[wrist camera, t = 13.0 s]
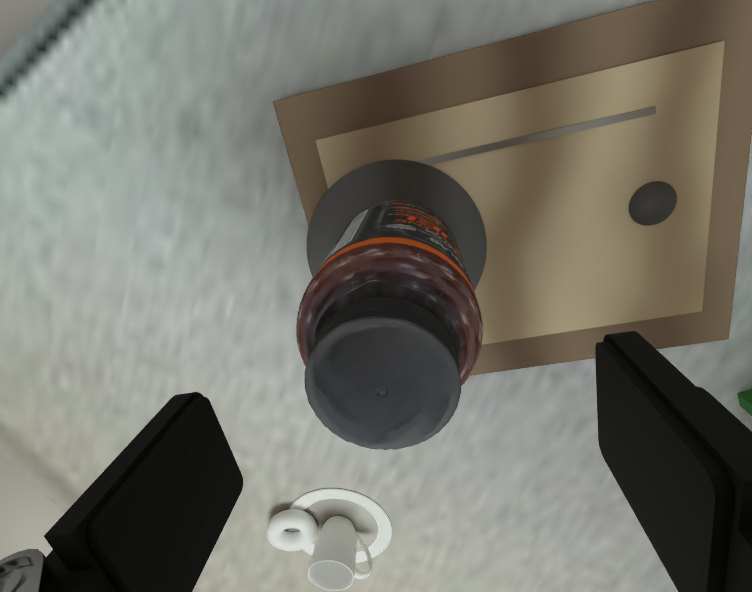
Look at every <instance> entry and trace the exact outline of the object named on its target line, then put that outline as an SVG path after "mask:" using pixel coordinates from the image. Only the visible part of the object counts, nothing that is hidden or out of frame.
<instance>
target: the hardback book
mask: <svg viewBox="0 0 752 592" xmlns="http://www.w3.org/2000/svg"><path fill="white" fill-rule="evenodd" d="M738 398H739V402H740V406H741V407H742V408H744V409H745V410H746V411H747V412H748V413H749V414H751V415H752V389H751V390H748V391H744V392H741V393H738Z"/></svg>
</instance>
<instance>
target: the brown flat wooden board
mask: <svg viewBox="0 0 752 592" xmlns="http://www.w3.org/2000/svg"><path fill="white" fill-rule="evenodd" d="M273 104H274V108H275V111H276V114H277V118H278V121H279V125H280V128H281V132H282V135H283V139H284V142H285V146H286V149H287V153H288V156H289V159H290V163H291V166H292V170H293V173H294V177H295V180H296V184H297V187H298V191H299V194H300V197H301V201H302V204H303V208H304V211H305V215H306V218H307V222H308V225H309V229H308V235H307V258H308V263H309V267H310V271H311V274H312V276H313V277H314V276H315V274H316V272H317V271H318V269H319V268H320V266H321V265H322V263H323V262H324V260H325V259H326V257H327V256H328V254H329V253H330V251H331V249H332V248H333V247H334V245H335V244H336V242H337V240H338V239H339V237H340V236H341V234H342V233H343V231H344V229H345V228H346V227H347V225H348V224H349V223H350V222H351V221H352V220H353V219H354V218H355V217H356V216H357V215H358V214H359V213H360V212H362V211H363V210H365V209H366V208H369V207H370V206H373V205H374V204H377V203H380V202H383V201H392V200H403V201H410V202H414V203H417V204H420V205H422V206H425V207H427V208H429V209H430V210H432V211H433V212H434V213H436V214H437V215H438V216H439V217H440V218H441V219H442V220H443V221H444V222H445V223H446V225H447V226H448V228H449V229H450V230H451V232H452V234H453V235H454V237H455V240H456V243H457V245H458V248H459V250H460V253H461V256H462V259H463V262H464V265H465V268H466V270H467V273H468V275H469V279H470V281H471V284H472V286H473V289H474V291H475V295H476V298H477V301H478V304H479V308H480V312H481V317H482V322H483V337H482V344H481V350H480V354H479V357H478V360H477V362H476V364H475V367H474V369H473V371H472V372H471V374H470V375H477V374H484V373H491V372H498V371H505V370H513V369H520V368H527V367H534V366H541V365H548V364H555V363H562V362H569V361H576V360H583V359H590V358H596V355H595V346H596V343H597V342H603V339H604V336H605V335H606V334H614V333H621V332H628V331H636V332H638V333H639V334H640V335H641V336H642V337H643V338H644V339H645V340H647V341H648V342H649V343H650V344H651V345H652V346H653V347H654V348H655V349H661V348H668V347H675V346H683V345H690V344H697V343H704V342H711V341H718V340H725V339H729V330H730V321H731V312H732V303H733V294H734V285H735V277H736V268H737V259H738V250H739V241H740V232H741V223H742V215H743V206H744V197H745V188H746V179H747V170H748V161H749V153H750V144H751V135H752V0H656V1H652V2H648V3H645V4H641V5H637V6H633V7H629V8H626V9H622V10H618V11H614V12H610V13H607V14H603V15H599V16H595V17H592V18H588V19H584V20H580V21H576V22H573V23H569V24H565V25H561V26H557V27H554V28H550V29H546V30H542V31H539V32H535V33H531V34H527V35H523V36H520V37H516V38H512V39H508V40H504V41H501V42H497V43H493V44H489V45H486V46H482V47H478V48H474V49H470V50H467V51H463V52H459V53H455V54H451V55H448V56H444V57H440V58H436V59H432V60H429V61H425V62H421V63H417V64H414V65H410V66H406V67H402V68H398V69H395V70H391V71H387V72H383V73H379V74H376V75H372V76H368V77H364V78H361V79H357V80H353V81H349V82H345V83H342V84H338V85H334V86H330V87H326V88H323V89H319V90H315V91H311V92H308V93H304V94H300V95H296V96H292V97H289V98H285V99H281V100H277V101H273ZM470 375H469V376H470Z"/></svg>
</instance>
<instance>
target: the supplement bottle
mask: <svg viewBox="0 0 752 592" xmlns="http://www.w3.org/2000/svg"><path fill="white" fill-rule="evenodd" d="M482 337H483V322H482V317H481V312H480V308H479V304H478V301H477V298H476V295H475V291H474V289H473V286H472V284H471V281H470V279H469V275H468V273H467V270H466V268H465V265H464V262H463V259H462V256H461V253H460V250H459V248H458V245H457V243H456V240H455V237H454V235H453V234H452V232H451V230H450V229H449V228H448V226H447V225H446V223H445V222H444V221H443V220H442V219H441V218H440V217H439V216H438V215H437V214H436V213H434V212H433V211H432V210H430V209H429V208H427V207H425V206H422V205H420V204H417V203H414V202H410V201H403V200H392V201H383V202H380V203H377V204H374V205H373V206H370V207H369V208H366V209H365V210H363V211H362V212H360V213H359V214H358V215H357V216H356V217H355V218H354V219H353V220H352V221H351V222H350V223H349V224H348V225H347V227H346V228H345V229H344V231H343V233H342V234H341V236H340V237H339V239H338V240H337V242H336V244H335V245H334V247H333V248H332V249H331V251H330V253H329V254H328V256H327V257H326V259H325V260H324V262H323V263H322V265H321V266H320V268H319V269H318V271H317V272H316V274H315V276H314V277H313V279H312V280H311V282H310V284H309V285H308V287H307V289H306V291H305V293H304V295H303V298H302V301H301V303H300V307H299V311H298V317H297V344H298V347H299V351H300V354H301V357H302V359H303V362H304V364H305V366H306V369H305V390H306V393H307V397H308V401H309V404H310V405H311V407H312V409H313V410H314V412H315V414H316V416H317V417H318V418H319V419H320V421H321V422H322V423H323V424H324V425H325V427H327V428H328V429H329V430H330V431H331V432H332V433H334V434H336V435H337V436H339V437H340V438H342V439H344V440H345V441H347V442H351V443H354V444H356V445H359V446H362V447H367V448H370V449H383V450H388V449H400V448H404V447H409V446H413V445H416V444H419V443H421V442H424V441H426V440H427V439H429V438H431V437H432V436H434V435H435V434H436V433H438V432H439V431H440V430H441V429H442V428H443V427H444V426H445V425H446V424H447V423H448V422H449V420H450V419H451V417H452V416H453V414H454V412H455V410H456V408H457V405H458V402H459V398H460V394H461V386H462V385H463V384H464V383H465V381H466V380H467V379H468V377H469V375H470V374H471V372H472V371H473V369H474V367H475V364H476V362H477V360H478V357H479V354H480V350H481V344H482Z"/></svg>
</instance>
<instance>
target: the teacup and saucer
mask: <svg viewBox="0 0 752 592" xmlns="http://www.w3.org/2000/svg"><path fill="white" fill-rule="evenodd" d="M325 499H343V500H348V501H351V502H354V503H357V504H359V505H361V506H362V507H364V508H365V509H367V510H368V511H369V512H370V513H371V514H372V515H373V517H374V518H375V520H376V522H377V525H378V535H377V538H376V540H375V541H374V543H373V544H372V545H371V546H370V547H368V548H367V546H366V545H365V543H364V542H363V540H362V539H361V538H360V537H359V535H358V534H357V533H356V532H355V529H354V526H353V523H352V522H351V521H350V520H349V519H347V518H345V517H342V516H333V517H330V518H329V519H328V520H327V521H326V522H325V523H324V524H323V526H322V528H321V530H320V532H319V535H318V538H317V541H316V544H315V545H313V544H312V542H313V541H314V539H315V537H316V534H317V525H316V522H315V520H314V518H313V517H312V516H311V515H310V514H308V513H307V512H305V511H304V510H305V509H306V508H307V507H308V506H310V505H311V504H313V503H315V502H317V501H320V500H325ZM285 529H287V530H288V532H286V531H284V530H285ZM266 536H267V539H268V541H269V542H270V543H271V544H272V545H273V546H274V547H276V548H278V549H281V550H284V551H297V550H301V549H302V550H304V551H305V552H306V553H308V554H310V555H312V558H311V561H310V565H309V569H308V577H309V579H310V580H311V582H312V583H313V584H315V585H316V586H318V587H319V588H322V589H325V590H329V591H340V590H344V589H346V588H348V587H350V586H351V585H352V583H353V581H354V577H355V578H357V579H365V578H367V577H368V576H369V575H370V573H371V571H372V568H373V563H372V558H374V557H376V556H377V555H379V554H380V553H381V552H382V551H384V549H385V548H386V547H387V546H388V544H389V542H390V540H391V536H392V526H391V522H390V519H389V517H388V515H387V514H386V512H385V511H384V510H383V509H382V508H381V507H380V506H379V505H378V504H377V503H376V502H374V501H373V500H371V499H370V498H368V497H366V496H364V495H362V494H360V493H357V492H354V491H350V490H345V489H337V488H327V489H319V490H315V491H312V492H309V493H306V494H304V495H303V496H301V497H299V498H298V499H297V500H296V501H295V502H294V503H293V504H292V505H291V506H290V508H289V510H284V511H281V512H279V513H277V514H276V515H275V516H274V517H272V519H271V520H270V522H269V523H268V525H267V528H266ZM356 541H358V543H359V544H360V545H361V547H362V548H363V551H360V552H357V553H356ZM367 560H368V562H369V571H368V572H366V573H361V572H360V571H359V570H358V569H357V568H356V563H359V562H363V561H367Z"/></svg>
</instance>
